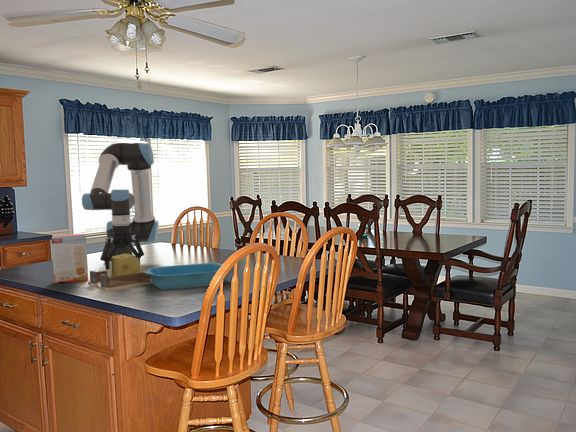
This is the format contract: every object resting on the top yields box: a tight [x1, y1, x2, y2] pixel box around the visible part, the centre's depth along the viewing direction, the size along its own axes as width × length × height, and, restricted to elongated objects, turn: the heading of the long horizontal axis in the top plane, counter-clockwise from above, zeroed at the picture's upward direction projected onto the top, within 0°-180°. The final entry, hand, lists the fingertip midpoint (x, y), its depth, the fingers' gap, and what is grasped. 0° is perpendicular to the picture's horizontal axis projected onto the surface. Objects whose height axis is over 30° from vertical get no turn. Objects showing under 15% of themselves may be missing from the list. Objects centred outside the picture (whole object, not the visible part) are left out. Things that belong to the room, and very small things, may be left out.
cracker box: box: [51, 233, 89, 284], centre depth 230 cm, size 14×6×21 cm, turn 110°
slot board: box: [87, 269, 154, 292], centre depth 227 cm, size 20×28×6 cm
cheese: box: [105, 254, 142, 278], centre depth 225 cm, size 10×11×10 cm
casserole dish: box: [144, 262, 228, 291], centre depth 222 cm, size 37×22×7 cm, turn 115°
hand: (123, 274), depth 225 cm, fingers closed on cheese, 12 cm apart
